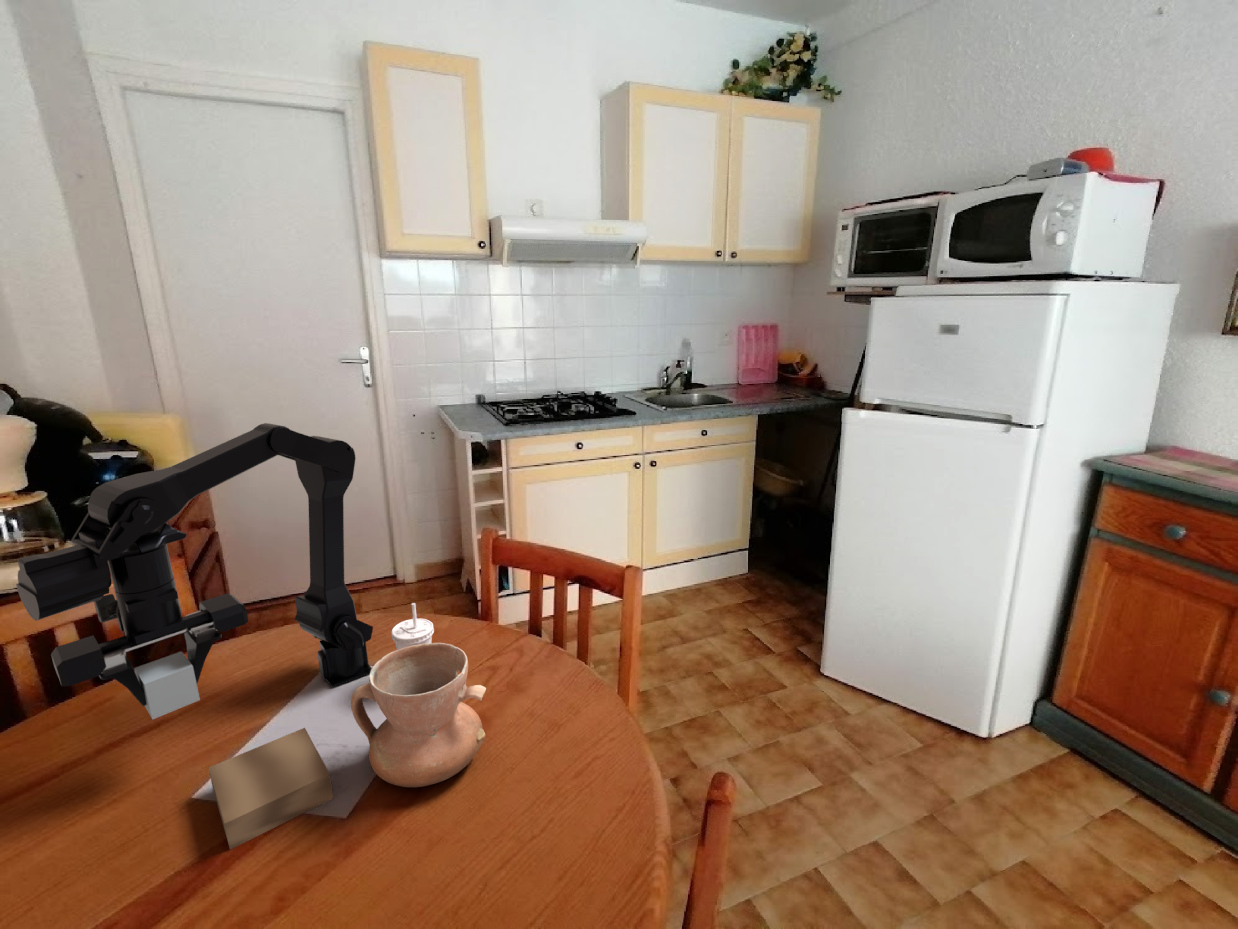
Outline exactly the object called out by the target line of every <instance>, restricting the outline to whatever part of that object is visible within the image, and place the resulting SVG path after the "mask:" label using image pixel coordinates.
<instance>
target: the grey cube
mask: <svg viewBox="0 0 1238 929" xmlns="http://www.w3.org/2000/svg"><path fill="white" fill-rule="evenodd" d="M186 656H187V655H185V654H184V652H183V651H178V652H176V653H172V654H170V655H167V656H165V657H162V658H160V659H159V658H158V659H155V660H154V661H150V662H148V663H145V664H142V665H139V666H136V667H133V669H134V671H135V674H136V676H137V678H138V680H139V683H140V685H141V687H142V689H143V692H144V694H145V698H146V704H147V705H145V706H144V707H145V709H146V711H147V712H148V714H149V716H150V718H151V719H152V720H155V719H157V718H160V717H163V716H164V715H167V714H169V713H172V712H175V711H176V710H179V709H181V708H184V707H187V706H189V705H191V704H193V703H196V702H199V701H201V698H200V693H199V688H198V684H197V683H196V679H195V674H194V669H193V666H192V664H191V663H190V662H189V660H188V657H186Z"/></svg>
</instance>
